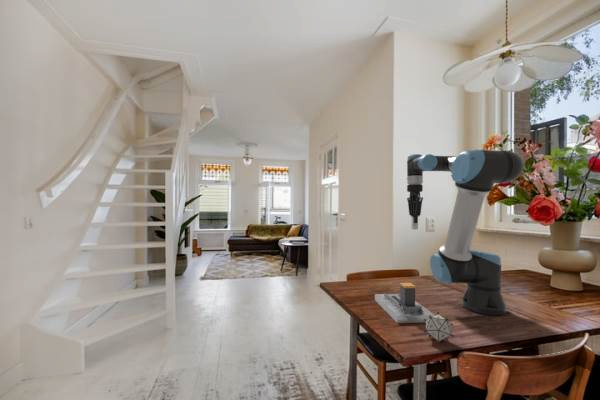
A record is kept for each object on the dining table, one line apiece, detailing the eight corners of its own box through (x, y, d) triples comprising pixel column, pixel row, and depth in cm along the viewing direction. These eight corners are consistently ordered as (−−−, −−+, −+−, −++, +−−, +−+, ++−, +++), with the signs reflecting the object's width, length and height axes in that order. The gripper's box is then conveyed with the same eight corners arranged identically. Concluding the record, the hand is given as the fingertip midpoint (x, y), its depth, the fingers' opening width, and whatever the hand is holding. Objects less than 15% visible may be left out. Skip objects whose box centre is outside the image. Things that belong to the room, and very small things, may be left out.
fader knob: (398, 305, 110) (398, 282, 110) (410, 305, 110) (410, 282, 110) (404, 310, 105) (404, 286, 105) (416, 309, 105) (416, 286, 105)
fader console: (374, 299, 124) (374, 289, 124) (405, 299, 125) (405, 289, 125) (397, 322, 100) (397, 310, 100) (435, 322, 101) (435, 309, 101)
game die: (445, 354, 86) (466, 336, 81) (420, 345, 86) (440, 326, 81) (436, 328, 94) (455, 310, 89) (413, 320, 94) (431, 301, 89)
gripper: (402, 185, 154) (402, 228, 153) (413, 183, 141) (413, 230, 140) (415, 185, 154) (415, 228, 154) (428, 183, 141) (428, 230, 141)
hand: (414, 229), depth 147 cm, fingers closed
